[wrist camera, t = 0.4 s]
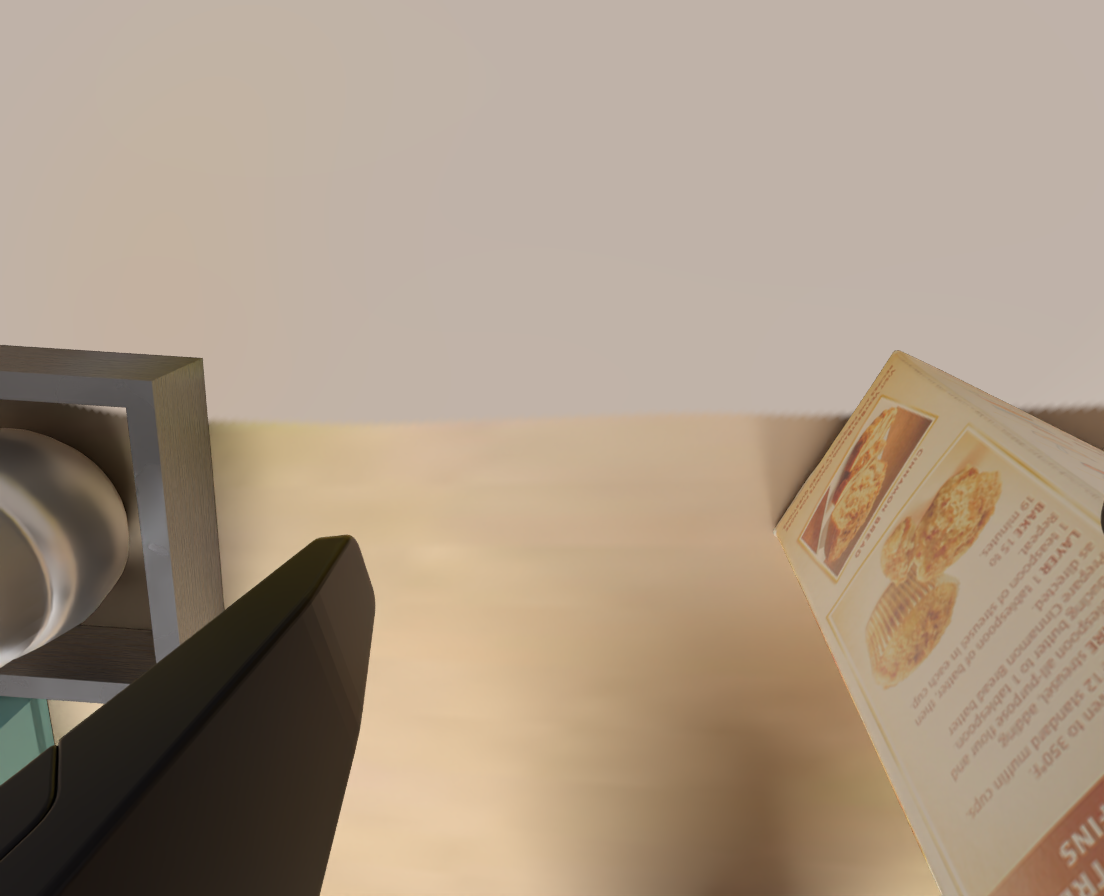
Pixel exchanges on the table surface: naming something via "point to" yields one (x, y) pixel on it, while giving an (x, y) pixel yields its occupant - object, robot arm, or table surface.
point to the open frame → (163, 505)
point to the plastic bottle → (53, 540)
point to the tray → (22, 733)
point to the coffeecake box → (967, 624)
